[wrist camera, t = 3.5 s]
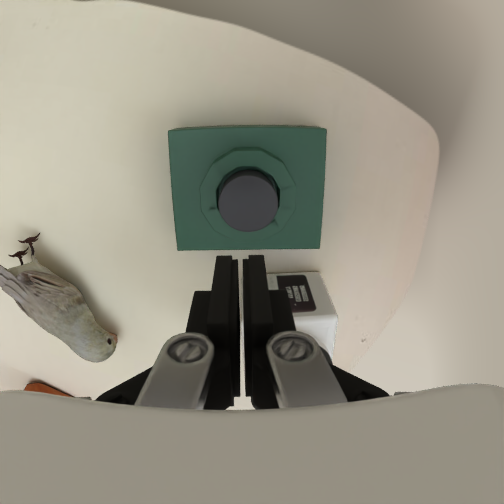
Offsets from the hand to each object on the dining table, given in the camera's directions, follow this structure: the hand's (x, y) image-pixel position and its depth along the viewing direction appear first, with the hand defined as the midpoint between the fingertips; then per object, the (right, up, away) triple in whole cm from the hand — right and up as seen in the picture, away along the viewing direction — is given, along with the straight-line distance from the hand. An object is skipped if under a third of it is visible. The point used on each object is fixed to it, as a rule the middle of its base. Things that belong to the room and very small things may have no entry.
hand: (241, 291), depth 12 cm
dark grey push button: (0, +5, +12) cm, 13 cm away
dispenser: (0, +7, +16) cm, 17 cm away
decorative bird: (-20, -3, +20) cm, 29 cm away
